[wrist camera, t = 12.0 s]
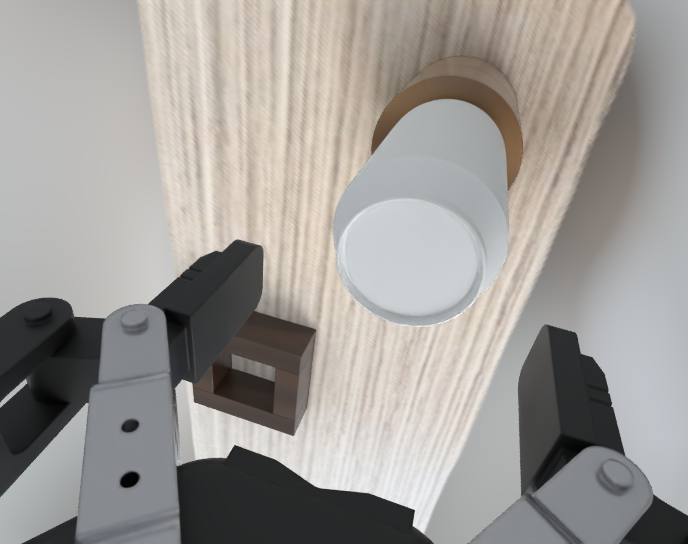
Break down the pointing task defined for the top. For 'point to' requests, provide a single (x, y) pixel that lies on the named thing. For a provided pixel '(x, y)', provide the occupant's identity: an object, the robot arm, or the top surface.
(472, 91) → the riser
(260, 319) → the can stand
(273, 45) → the top surface
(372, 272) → the beverage can
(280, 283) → the top surface
